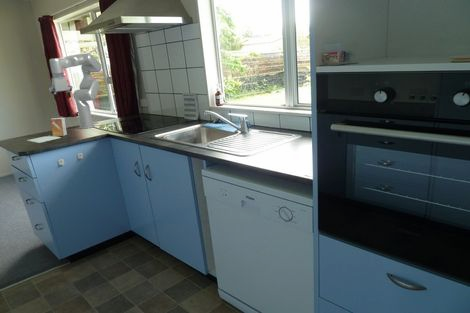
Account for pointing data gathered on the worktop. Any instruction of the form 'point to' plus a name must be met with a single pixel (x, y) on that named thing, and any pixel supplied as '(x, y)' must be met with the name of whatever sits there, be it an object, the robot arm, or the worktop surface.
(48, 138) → the mat
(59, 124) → the small box
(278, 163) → the worktop surface
